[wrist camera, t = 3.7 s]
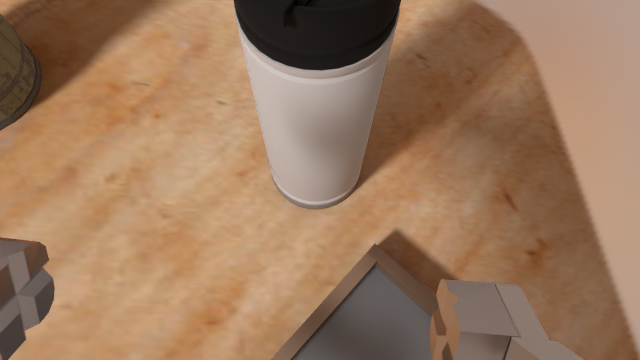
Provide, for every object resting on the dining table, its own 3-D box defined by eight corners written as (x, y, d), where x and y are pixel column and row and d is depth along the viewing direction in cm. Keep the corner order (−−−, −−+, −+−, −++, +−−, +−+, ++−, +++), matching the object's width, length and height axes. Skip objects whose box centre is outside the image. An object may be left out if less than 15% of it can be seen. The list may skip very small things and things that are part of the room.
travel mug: (251, 185, 33) (169, -41, 14) (301, 114, 35) (287, -167, 16) (328, 231, 32) (349, 50, 13) (375, 154, 34) (451, -96, 15)
